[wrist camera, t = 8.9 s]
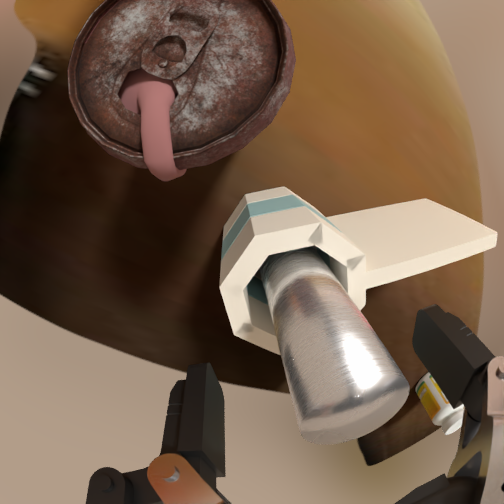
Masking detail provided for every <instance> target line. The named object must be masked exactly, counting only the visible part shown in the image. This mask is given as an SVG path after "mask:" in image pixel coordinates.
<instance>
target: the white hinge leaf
mask: <svg viewBox="0 0 504 504" xmlns="http://www.w3.org/2000/svg"><path fill="white" fill-rule="evenodd" d="M288 195H294V196H296V197H297V198H299V199H300V200H301V201H303V202H304V203H306V204H307V205H309V206H310V207H311V208H313V209H314V210H316V211H317V212H318V213H320V212H319V211H318V210H317V209H316V208H315V207H313V206H312V205H310V204H309V203H307V202H306V201H305V200H303V199H302V198H300V197H299V196H297V195H296V194H295V193H293V192H292V191H290V190H289V189H287V188H286V187H278V188H273V189H268V190H263V191H259V192H254V193H249V194H245V195H244V197H243V198H242V200H241V201H240V203H239V204H238V206H237V207H236V209H235V210H234V212H233V213H232V215H231V216H230V218H229V219H228V221H227V223H226V224H225V226H224V231H223V240H224V238H225V237H226V235H227V234H228V232H229V231H230V229H231V228H232V226H233V225H234V223H235V222H236V220H237V219H238V217H239V215H240V214H241V212H242V211H243V209H244V208H245V207H246V205H247V204H249V203H253V202H258V201H263V200H268V199H273V198H278V197H283V196H288ZM320 214H321V213H320ZM321 215H322V214H321ZM323 216H324V215H323ZM324 217H325V216H324ZM325 218H327V219H328V220H329V221H330V222H331V223H332V224H333V225H335V226H336V227H337V228H338V229H339V230H340V231H341V232H340V231H339V230H338V229H336V228H335V227H333V226H332V225H331V224H329V223H328V222H327V221H325V220H324V219H322V218H321V217H320V216H318V215H317V214H315V213H314V212H313V211H311V210H310V209H308V208H307V207H305V206H302V207H297V208H292V209H287V210H282V211H277V212H272V213H268V214H263V215H258V216H253V217H250V219H249V220H248V221H247V223H246V224H245V226H244V227H243V229H242V230H241V232H240V233H239V235H238V236H237V238H236V239H235V241H234V242H233V244H232V245H231V247H230V248H229V250H228V251H227V253H226V254H225V256H224V257H223V259H222V260H221V270H220V285H219V288H220V291H221V294H222V298H223V301H224V304H225V308H226V311H227V314H228V317H229V320H230V324H231V327H232V330H233V333H234V335H235V336H237V337H239V338H241V339H244V340H246V341H248V342H250V343H253V344H255V345H257V346H260V347H262V348H264V349H267V350H269V351H271V352H274V353H276V354H278V355H281V353H280V349H279V345H278V341H277V337H276V333H275V329H274V325H273V321H272V317H271V313H270V309H269V305H267V304H265V303H263V302H261V301H259V300H257V299H255V298H253V297H251V296H249V295H248V291H247V287H246V286H247V284H248V283H249V282H250V280H251V279H252V277H253V276H255V277H257V278H258V279H260V280H262V278H261V274H260V270H259V268H260V266H261V265H262V264H263V262H264V261H265V260H266V258H267V257H268V255H272V254H276V253H281V252H286V251H290V250H295V249H299V248H304V247H309V246H313V247H314V249H315V250H316V251H317V249H316V246H317V247H318V248H320V249H321V250H323V251H324V252H326V253H327V254H328V255H329V257H330V269H331V271H332V273H333V274H334V275H335V277H336V278H337V279H338V281H339V282H340V284H341V285H342V286H343V288H344V289H345V290H346V292H347V293H348V295H349V296H350V297H351V299H352V300H353V301H354V303H355V304H356V306H357V307H358V309H359V310H361V309H362V308H363V307H364V306H365V304H366V289H368V288H372V287H375V286H379V285H382V284H386V283H389V282H393V281H396V280H399V279H403V278H406V277H409V276H412V275H416V274H419V273H422V272H425V271H428V270H431V269H434V268H437V267H440V266H443V265H446V264H449V263H452V262H455V261H458V260H461V259H463V258H466V257H469V256H472V255H474V254H477V253H480V252H483V251H485V250H488V249H490V248H493V247H495V246H496V240H497V232H495V231H494V230H492V229H490V228H488V227H486V226H484V225H482V224H480V223H478V222H476V221H474V220H472V219H470V218H468V217H466V216H464V215H462V214H460V213H458V212H455V211H453V210H451V209H449V208H447V207H445V206H442V205H440V204H438V203H435V202H433V201H431V200H428V199H426V198H425V199H420V200H414V201H409V202H403V203H398V204H393V205H387V206H382V207H377V208H372V209H366V210H361V211H356V212H351V213H346V214H341V215H336V216H331V217H325Z"/></svg>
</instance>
